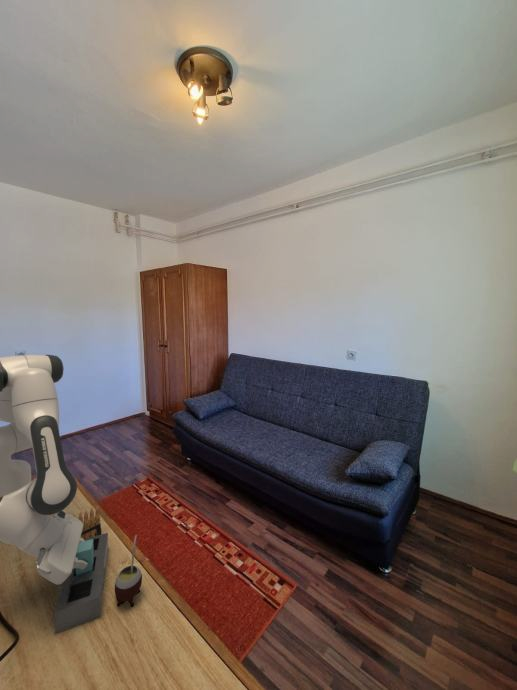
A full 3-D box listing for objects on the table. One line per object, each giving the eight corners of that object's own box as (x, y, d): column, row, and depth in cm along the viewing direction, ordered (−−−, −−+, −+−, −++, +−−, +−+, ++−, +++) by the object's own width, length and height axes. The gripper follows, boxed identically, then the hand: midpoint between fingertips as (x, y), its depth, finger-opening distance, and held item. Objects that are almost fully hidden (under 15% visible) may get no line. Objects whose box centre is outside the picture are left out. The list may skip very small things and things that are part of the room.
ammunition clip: (67, 553, 93) (65, 520, 92) (65, 550, 94) (64, 517, 93) (101, 536, 101) (100, 505, 100) (100, 533, 102) (99, 503, 101)
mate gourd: (119, 617, 74) (118, 566, 72) (110, 595, 79) (109, 547, 78) (147, 598, 79) (147, 550, 78) (137, 579, 85) (136, 534, 83)
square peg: (78, 573, 83) (77, 542, 82) (94, 568, 85) (93, 538, 84) (76, 585, 80) (75, 553, 79) (92, 580, 81) (91, 548, 80)
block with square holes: (74, 558, 91) (73, 541, 91) (108, 548, 95) (107, 532, 95) (54, 633, 69) (54, 612, 69) (100, 617, 74) (99, 597, 73)
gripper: (44, 556, 68) (90, 578, 73) (63, 505, 87) (99, 525, 92) (22, 579, 67) (71, 600, 72) (46, 522, 85) (84, 542, 90)
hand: (87, 557), depth 82 cm, fingers closed on square peg, 4 cm apart
